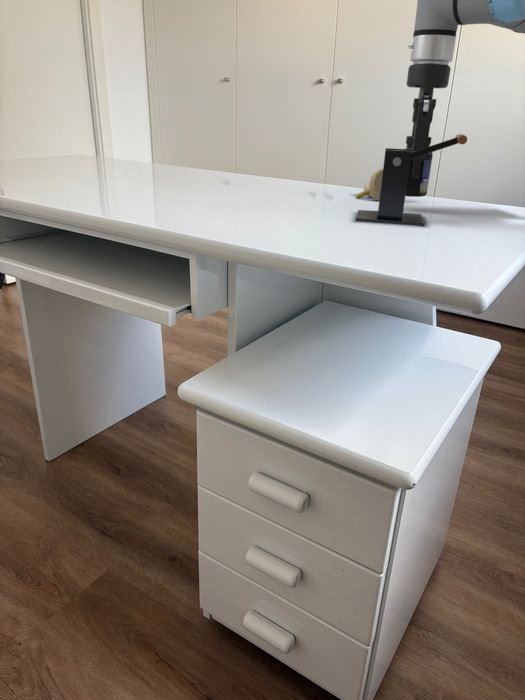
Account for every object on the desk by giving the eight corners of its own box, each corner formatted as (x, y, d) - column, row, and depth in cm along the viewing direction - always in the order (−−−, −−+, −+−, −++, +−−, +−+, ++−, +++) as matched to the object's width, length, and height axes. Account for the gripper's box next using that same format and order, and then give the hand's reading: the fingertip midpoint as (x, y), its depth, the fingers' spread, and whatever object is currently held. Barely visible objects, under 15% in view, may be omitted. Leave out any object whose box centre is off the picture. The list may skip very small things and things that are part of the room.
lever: (464, 143, 94) (462, 129, 93) (468, 145, 90) (465, 131, 89) (390, 168, 98) (387, 155, 98) (390, 171, 94) (387, 157, 93)
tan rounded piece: (378, 196, 131) (399, 161, 123) (386, 221, 125) (409, 185, 117) (351, 188, 129) (371, 151, 121) (357, 213, 122) (379, 176, 115)
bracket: (420, 220, 103) (431, 149, 98) (423, 229, 95) (435, 153, 90) (357, 215, 105) (365, 146, 100) (355, 224, 97) (362, 149, 92)
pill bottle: (419, 192, 112) (427, 136, 107) (431, 197, 106) (441, 138, 102) (390, 192, 111) (398, 135, 106) (402, 197, 105) (410, 137, 101)
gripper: (407, 67, 108) (392, 185, 117) (411, 59, 91) (392, 199, 100) (446, 67, 106) (427, 188, 116) (457, 60, 89) (433, 201, 99)
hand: (411, 192), depth 108 cm, fingers closed on pill bottle, 6 cm apart
